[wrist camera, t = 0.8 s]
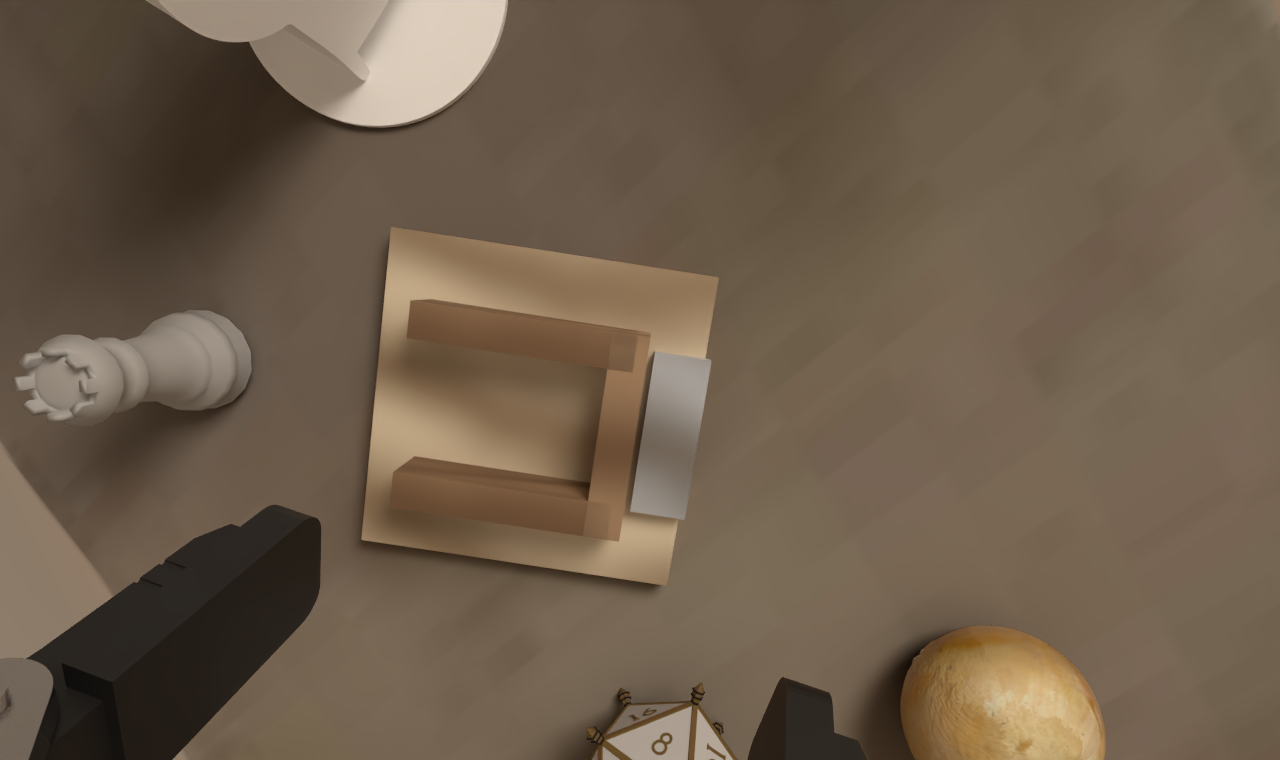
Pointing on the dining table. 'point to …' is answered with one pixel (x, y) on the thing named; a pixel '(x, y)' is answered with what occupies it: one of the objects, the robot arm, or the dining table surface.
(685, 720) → the game die
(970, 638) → the onion
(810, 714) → the robot arm
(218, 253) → the dining table surface
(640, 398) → the cradle jig
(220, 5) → the panda figurine
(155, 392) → the rook chess piece
